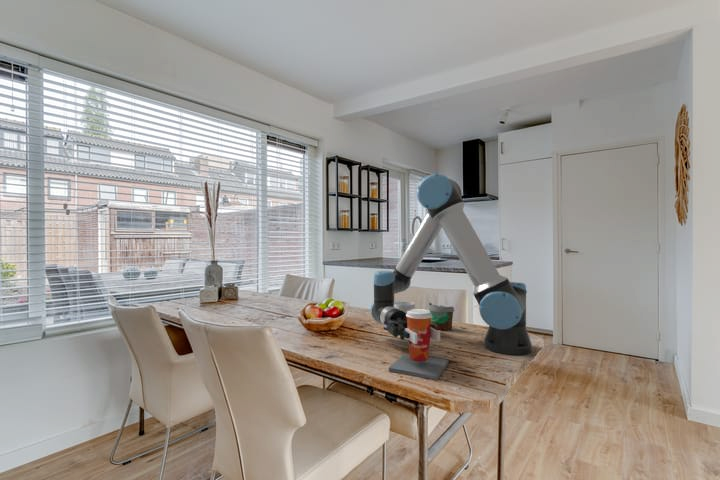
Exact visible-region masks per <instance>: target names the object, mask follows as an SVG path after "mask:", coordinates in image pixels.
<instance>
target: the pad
mask: <svg viewBox="0 0 720 480" xmlns="http://www.w3.org/2000/svg"><path fill="white" fill-rule="evenodd" d="M448 364H449V359H445V358H444V359H443V358H439V357H438V358H437V357H431V356H429V357H428V360H427V361H422V362H418V361H413V360H411V359H410V358H409V353H403V355H401V356H400V357H399V358H398V359H397V360H396V361H394V362H393V363H392V364H391V365H390V366H389V367H388V372H392V373H397V374H402V375H406V376H407V375H409V376H413V377H419V378H423V379H429V380H435V381H438V379H439V377H440V376H441V374H442V373H443V372H444V370H445V369H446V367H447V366H448Z"/></svg>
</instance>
